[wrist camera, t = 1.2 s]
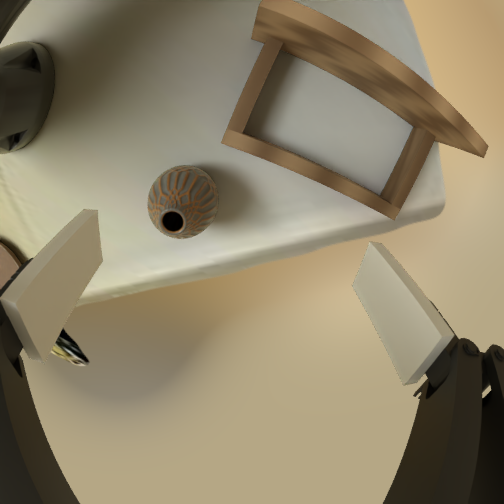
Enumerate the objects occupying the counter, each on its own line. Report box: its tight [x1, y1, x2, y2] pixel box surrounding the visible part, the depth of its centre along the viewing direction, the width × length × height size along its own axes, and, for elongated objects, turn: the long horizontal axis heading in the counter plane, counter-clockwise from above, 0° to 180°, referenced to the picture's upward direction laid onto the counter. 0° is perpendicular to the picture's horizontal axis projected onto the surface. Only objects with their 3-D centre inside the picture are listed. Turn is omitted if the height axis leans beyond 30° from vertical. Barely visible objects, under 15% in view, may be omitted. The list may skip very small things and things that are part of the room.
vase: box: [148, 165, 218, 239], centre depth 25 cm, size 7×7×9 cm
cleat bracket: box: [221, 0, 488, 220], centre depth 22 cm, size 24×13×10 cm, turn 68°
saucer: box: [0, 242, 21, 290], centre depth 32 cm, size 15×15×3 cm
